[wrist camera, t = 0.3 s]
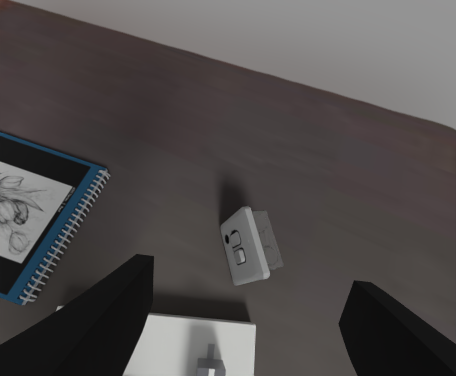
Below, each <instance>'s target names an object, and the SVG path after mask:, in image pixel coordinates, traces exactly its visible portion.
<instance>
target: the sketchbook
mask: <svg viewBox="0 0 456 376" xmlns="http://www.w3.org/2000/svg"><path fill="white" fill-rule="evenodd" d="M107 172H108V170H107V169H106V168H104V167H101V166H98V165H95V164H92V163H89V162H86V161H83V160H80V159H77V158H74V157H72V156H69V155H66V154H63V153H60V152H57V151H54V150H51V149H48V148H45V147H42V146H39V145H36V144H33V143H30V142H28V141H25V140H22V139H19V138H16V137H13V136H10V135H7V134H4V133H1V132H0V298H3V299H6V300H8V301H11V302H14V303H16V304H19V305H26V303H27V302H28V301H36V299H34V300H33V299H30V297H31V296H32V297H35V298H37V297H38V296H35V295H33V292H34V290H35V289H36V290H38V291H41V289H38V288H36V287H37V286H38V284H39V283H41V284H43V285H45V283H43V282H41V279H42V277H46V278H48V279H49V277H48V276H46V275H44V274H45V273H46V271H47V270H48V271H51V272H53V270H51V269H49V266H50V264H53V265H55V266H57V264H55V263H53V262H52V261H53V260H54V258H57V259H58V260H60V258H58V257H56V255H57V253H58V252H60V253H61V254H64V253H63V252H62V251H60V248H61V247H62V246H63V247H65V249H67V247H66V246H65V245H63V243H64V242H65V240H66V241H67V242H69V243H70V241H69V240H68V239H67V237H68V235H70V236H72V238H73V237H74V236H73V235H72V234H70V232H71V230H72V229H73V230H74V231H75V232H77V230H76V229H74V228H73V227H74V226H75V224H76V225H78V227H80V225H79V224H78V223H76V222H77V221H78V219H80V220H81V222H83V220H82V219H81V218H80V216H81V214H83V215H84V216H85V217H86V214H84V213H83V211H84V209H86V210H87V212H89V209H88V208H86V206H87V204H89V205H90V206H91V207H92V204H90V203H89V201H90V200H91V199H92V200H93V202H95V200H94V199H93V198H92V196H93V195H94V194H95V195H96V197H98V195H97V194H96V193H95V191H96V190H98V191H99V193H101V191H100V190H99V189H98V187H99V185H101V186H102V188H104V187H103V185H102V184H101V182H102V180H103V181H104V182H105V183H104V184H106V181H105V180H104V179H103V178H104V177H105V176H106V177H107V179H109V177H110V175H109V174H108V173H107ZM106 174H107V175H109V177H108V176H107V175H106Z"/></svg>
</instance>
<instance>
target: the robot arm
mask: <svg viewBox="0 0 456 376" xmlns="http://www.w3.org/2000/svg"><path fill="white" fill-rule="evenodd" d="M153 269H154V256H148V255H140V254H136V255H135V256H133V257H132V258H131V259H129V260H128V261H127V262H125V263H124V264H123V265H121V266H120V267H119V268H117V269H116V270H115V271H113V272H112V273H110V274H109V275H108V276H106V277H105V278H104V279H102V280H101V281H100V282H98V283H97V284H95V285H94V286H93V287H91V288H90V289H88V290H87V291H86V292H84V293H83V294H81V295H80V296H78V297H77V298H75V299H74V300H72V301H71V302H69V303H68V304H66V305H65V306H63V307H62V308H60V309H59V310H57V311H56V312H54V313H53V314H51V315H50V316H48V317H47V318H45V319H43V320H42V321H40V322H39V323H37V324H35V325H34V326H32V327H30V328H29V329H27V330H25V331H24V332H22V333H20V334H18V335H17V336H15V337H13V338H11V339H10V340H8V341H6V342H4V343H3V344H1V345H0V376H123V374H124V371H125V369H126V367H127V365H128V363H129V361H130V358H131V356H132V354H133V352H134V350H135V347H136V345H137V343H138V341H139V339H140V336H141V334H142V332H143V329H144V326H145V323H146V320H147V318H148V314H149V311H150V308H151V305H152V302H153ZM339 327H340V330H341V334H342V337H343V340H344V343H345V346H346V349H347V352H348V355H349V357H350V360H351V362H352V364H353V367H354V369H355V371H356V373H357V376H456V344H455V343H453V342H452V341H451V340H449V339H448V338H447V337H445V336H444V335H443V334H441V333H440V332H438V331H437V330H436V329H434V328H433V327H432V326H430V325H429V324H428V323H426V322H425V321H424V320H422V319H421V318H420V317H418V316H417V315H416V314H414V313H413V312H412V311H410V310H409V309H408V308H406V307H405V306H404V305H402V304H401V303H400V302H398V301H397V300H396V299H394V298H393V297H391V296H390V295H389V294H387V293H386V292H385V291H383V290H382V289H380V288H379V287H377V286H376V285H374V284H373V283H371V282H364V281H355V280H354V282H353V285H352V288H351V290H350V293H349V296H348V299H347V302H346V304H345V307H344V310H343V313H342V315H341V318H340V321H339Z"/></svg>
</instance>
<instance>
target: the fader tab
mask: <svg viewBox="0 0 456 376" xmlns="http://www.w3.org/2000/svg"><path fill="white" fill-rule="evenodd" d="M225 375H226V369H225V366H224V363H223V360H218V359H206V358H198V361H197V369H196V376H225Z"/></svg>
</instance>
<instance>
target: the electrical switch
mask: <svg viewBox="0 0 456 376" xmlns="http://www.w3.org/2000/svg"><path fill="white" fill-rule="evenodd" d="M265 218H266V219H265ZM220 230H221V234H222V239H223V243H224V247H225V251H226V255H227V259H228V263H229V268H230V272H231V276H232V280H233V283H234V284H235V285H240V284H245V283H249V282H253V281H257V280H261V279H267V278H268V277H269V275H270V272H269V271H270V270H274V269H277V268H280V267H281V266H284V264H283V261H282V258H281V255H280V252H279V249H278V246H277V243H276V240H275V236H274V233H273V230H272V227H271V224H270V221H269V218H268V215H267V212H266V211H251V208H250V207H248V206H246V207H242V208H241V209H239V210H238V211H237V212H236V213H235V214H233V215H232V216H231V217H230V218H229V219H228V220H226V221H225V222H224V223H223V224H222V225H221V227H220ZM262 231H264V232H263V233H261V232H262ZM259 234H260V235H259ZM266 245H268V246H266ZM270 247H271V248H270ZM264 250H265V252H264ZM277 254H278V256H277ZM267 263H269V264H267Z"/></svg>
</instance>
